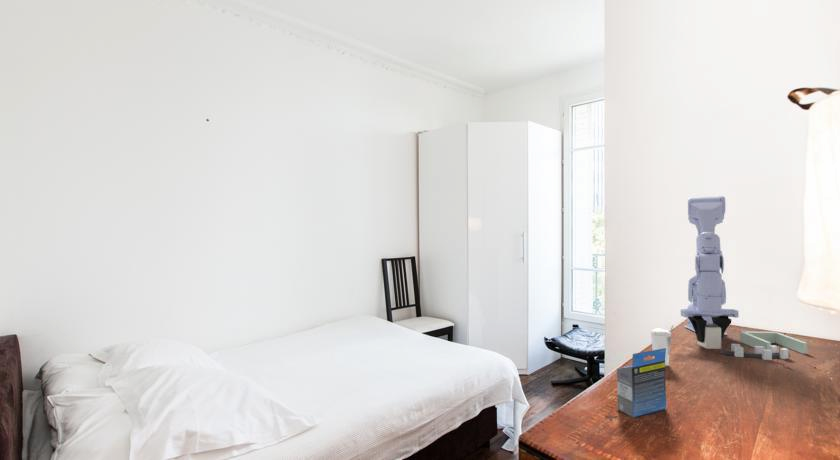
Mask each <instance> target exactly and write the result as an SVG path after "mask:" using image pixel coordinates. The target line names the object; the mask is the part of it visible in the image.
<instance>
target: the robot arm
mask: <svg viewBox="0 0 840 460" xmlns="http://www.w3.org/2000/svg"><path fill="white" fill-rule="evenodd" d="M725 214H726V197H725V196H724V195H720V196H696V197H692V196H690V197H689V198H687V215H688V221H689V223H690V224H692V225H694V226H695V228H696V230H697V236H696V255H695V259H694V262H695V263H694V269H695V275H693V276H692V277H690V278H689V280H688V285H687V286H688V289H687V293H688V294H687V295H688V297H687V298H688V299H687V300H688V301H689V302H690V303H689V305H688V306H687V308H681V309H680V317H683V318H687V319H686V320H687V322H686V323H687V325H684V327H685V328H686V329H688V330H690V331H692V332H695V335H696V339H697V342H698V341H700V342H702V343H704V340H705V326H706V323H713V324H716V325H718V327H720V328H721V342H722V341H723V338H724V336H727V335H728V333H727V332H726V330H727V328H728V327H729V326H730V325H731V323H732V318H739V310H737V309H731V308H722V306H724V305H725V304H726V302H727V289H726V282H725V281H724V279H723V278H722V274H723V273H724V270H725V258H724V255H723V253H722V252H723V251H722V250H721V237H720V236H719V235H718V234H717V233H715V232H716V230H715V229H716V226H717V225H719V224H723V222H724V221H723V220H724V219H725ZM720 271H721V273H720Z"/></svg>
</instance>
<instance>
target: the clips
mask: <svg viewBox="0 0 840 460" xmlns="http://www.w3.org/2000/svg"><path fill="white" fill-rule="evenodd" d="M730 347H731V349H730V351H734V355H733V356H734V357H736V358H744V357H745V356H744V352H745V351H744V347H743V346H741V344H739V343H731V345H730ZM779 352H780V357H779V358H780V359H781V360H787V359H789V355H788V352H789V348H787V347H783V348H782V347H781V348H779ZM754 353H756V354H762V358H761V360H764V361H772V360H773V358H772V353H778V346H777V345H772V344H771V346H769V350H764V347H762V346H755V348H754Z"/></svg>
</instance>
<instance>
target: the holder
mask: <svg viewBox="0 0 840 460" xmlns="http://www.w3.org/2000/svg"><path fill="white" fill-rule="evenodd" d="M739 342H740V343H742V344H744V345H747V346H749V347H752V348H753V349H755V346H762V347H764V350H769V346H771V345H772V344H776V345H777V344H778V345H779V346H782V347H783V348H786V349H788V350H789V349H790V350H792V351H794V352H797V353H800V354H802V355H808V342H806V341H803V340H801V339H797V338H794V337H792V336H789V335H786V334H783V333H780V332H778V331H739Z"/></svg>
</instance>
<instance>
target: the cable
mask: <svg viewBox="0 0 840 460" xmlns="http://www.w3.org/2000/svg"><path fill="white" fill-rule="evenodd" d="M719 350H720V352H719V353H720V354H721V355H727V356H728V355H730V356H734V351H731V350H725V349H719ZM788 356H790V352H789V351H788ZM744 357H749V358H757V359H762V354H756V353H755V352H747V351H746V352H745V351H744ZM774 358H775V359H777V358H780V351H779V352H777V353H772V359H774Z"/></svg>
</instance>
